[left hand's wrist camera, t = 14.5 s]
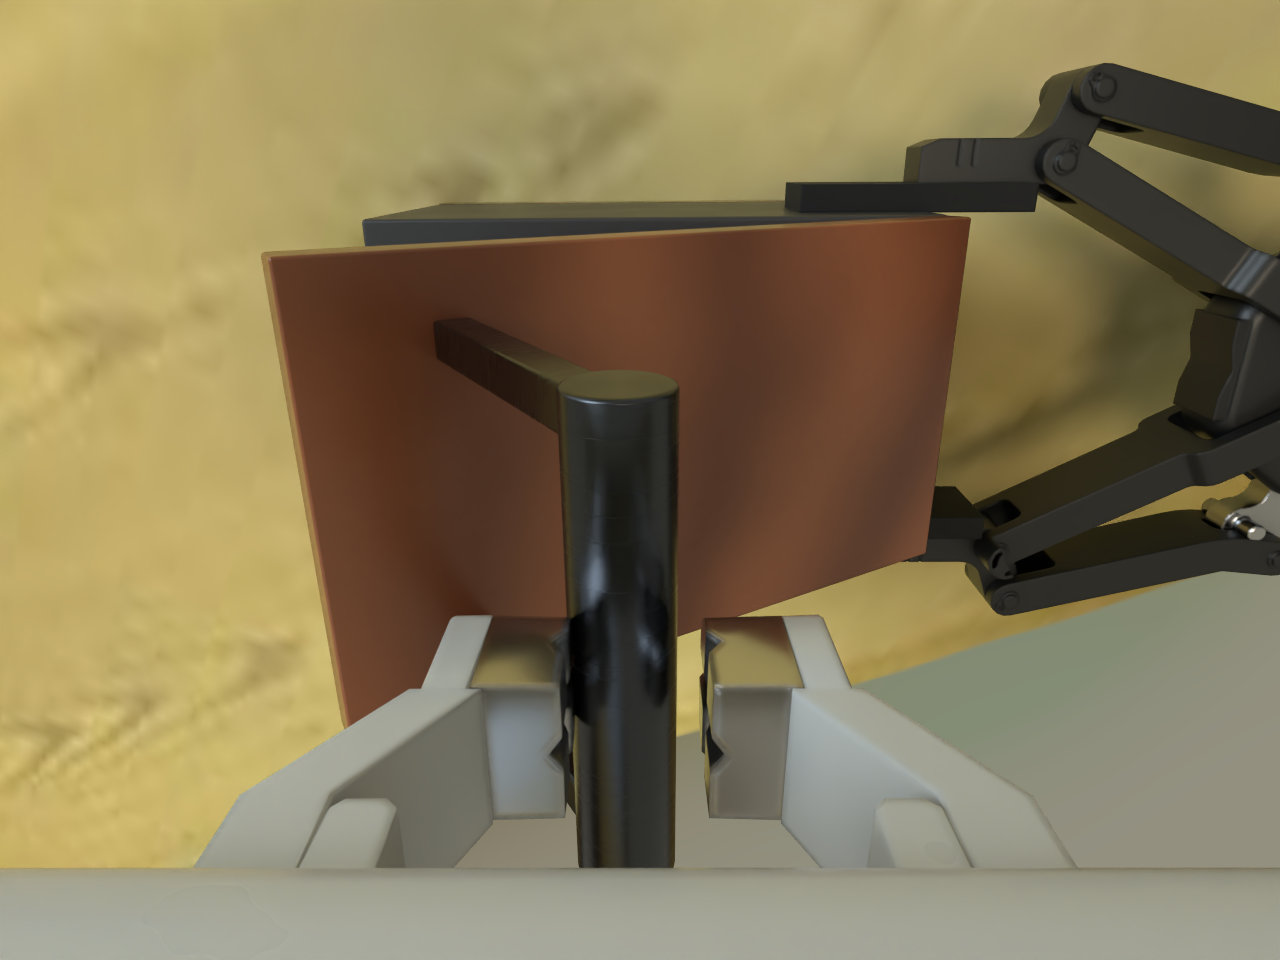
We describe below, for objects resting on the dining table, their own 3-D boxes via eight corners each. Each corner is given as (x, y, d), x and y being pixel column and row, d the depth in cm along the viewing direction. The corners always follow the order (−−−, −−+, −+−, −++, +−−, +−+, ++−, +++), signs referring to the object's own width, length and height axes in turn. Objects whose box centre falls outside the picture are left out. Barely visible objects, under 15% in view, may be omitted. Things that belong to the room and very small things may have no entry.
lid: (341, 722, 17) (467, 1049, 10) (259, 252, 13) (374, 325, 7) (902, 542, 24) (1165, 669, 18) (942, 215, 21) (1282, 234, 15)
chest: (466, 442, 33) (401, 542, 24) (444, 203, 30) (360, 218, 21) (839, 440, 33) (909, 540, 24) (860, 199, 30) (950, 214, 21)
